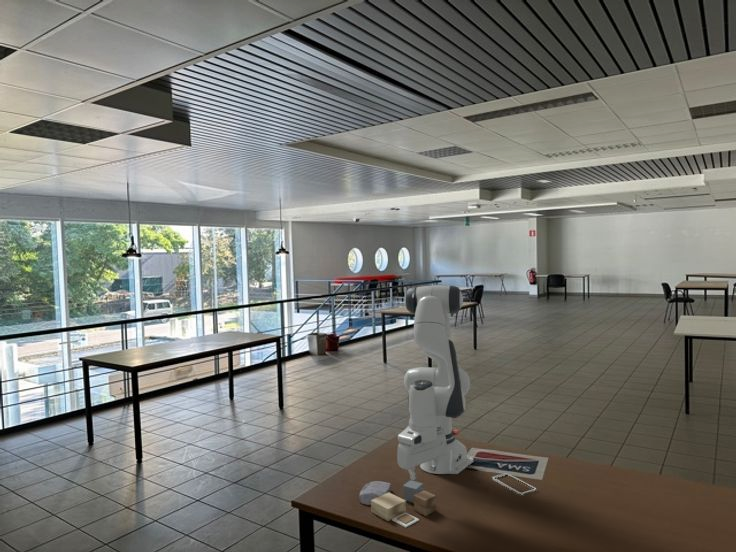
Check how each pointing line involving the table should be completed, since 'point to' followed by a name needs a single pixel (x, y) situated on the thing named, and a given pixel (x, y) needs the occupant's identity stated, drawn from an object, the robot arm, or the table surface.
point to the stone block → (373, 491)
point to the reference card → (405, 519)
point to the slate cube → (411, 490)
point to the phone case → (509, 486)
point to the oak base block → (388, 506)
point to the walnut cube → (424, 503)
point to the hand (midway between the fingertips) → (423, 475)
